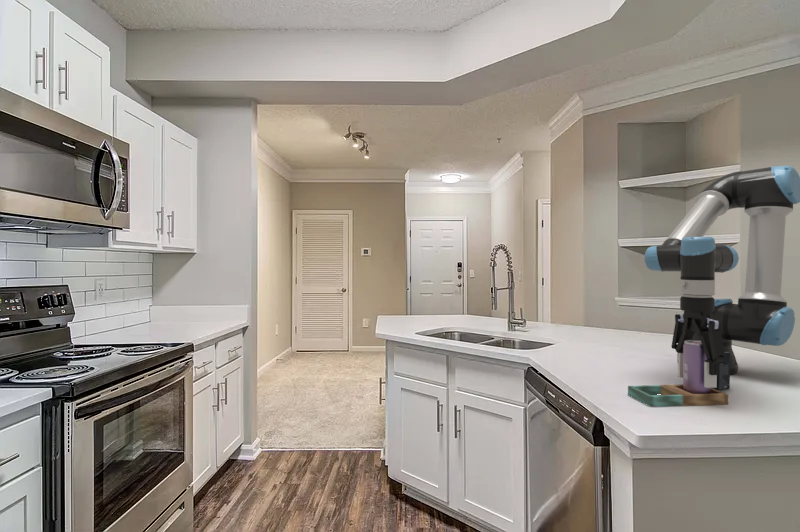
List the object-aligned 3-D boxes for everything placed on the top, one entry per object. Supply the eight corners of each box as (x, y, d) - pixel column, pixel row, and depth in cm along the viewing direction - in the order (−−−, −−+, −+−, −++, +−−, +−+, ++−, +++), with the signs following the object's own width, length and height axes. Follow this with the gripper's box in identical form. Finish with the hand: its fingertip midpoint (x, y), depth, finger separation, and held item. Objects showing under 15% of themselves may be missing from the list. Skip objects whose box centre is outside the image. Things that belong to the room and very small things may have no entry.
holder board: (700, 392, 125) (700, 383, 125) (728, 404, 115) (728, 394, 115) (627, 395, 123) (627, 385, 123) (649, 406, 114) (649, 396, 114)
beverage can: (714, 403, 116) (715, 344, 116) (688, 401, 117) (688, 343, 117) (703, 396, 122) (704, 340, 122) (679, 394, 123) (679, 339, 123)
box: (730, 389, 128) (730, 351, 128) (718, 392, 126) (718, 353, 126) (701, 382, 135) (701, 346, 135) (689, 384, 133) (689, 348, 133)
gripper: (656, 292, 130) (656, 371, 130) (715, 300, 108) (714, 394, 108) (682, 292, 130) (681, 371, 131) (745, 299, 109) (744, 394, 109)
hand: (696, 381), depth 120 cm, fingers open, 9 cm apart
